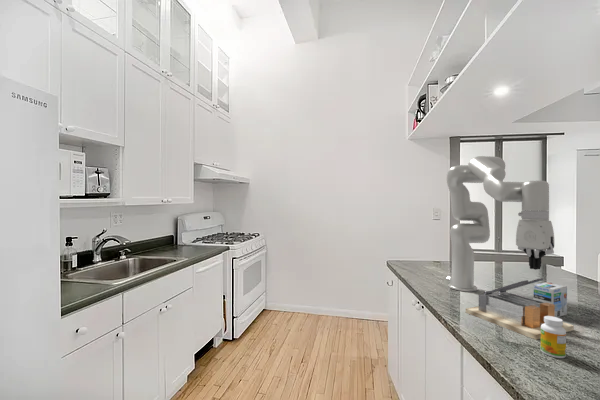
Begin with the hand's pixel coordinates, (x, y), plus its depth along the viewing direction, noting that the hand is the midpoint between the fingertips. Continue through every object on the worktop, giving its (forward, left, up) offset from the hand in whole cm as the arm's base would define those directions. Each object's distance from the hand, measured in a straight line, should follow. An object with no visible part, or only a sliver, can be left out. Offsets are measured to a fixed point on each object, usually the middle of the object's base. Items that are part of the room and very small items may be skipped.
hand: (535, 268), depth 104 cm
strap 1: (-5, -8, -8) cm, 12 cm away
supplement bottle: (+15, -19, -19) cm, 31 cm away
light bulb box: (-4, +16, -19) cm, 25 cm away
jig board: (-4, -4, -19) cm, 20 cm away
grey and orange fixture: (-4, -4, -17) cm, 18 cm away
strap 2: (-5, 0, -8) cm, 9 cm away
